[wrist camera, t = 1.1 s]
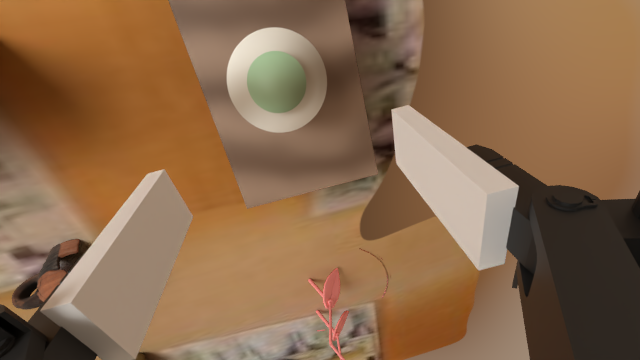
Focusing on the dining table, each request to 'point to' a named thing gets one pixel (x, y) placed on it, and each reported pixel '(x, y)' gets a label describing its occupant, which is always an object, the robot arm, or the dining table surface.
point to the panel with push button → (280, 92)
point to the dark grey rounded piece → (140, 357)
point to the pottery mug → (44, 278)
